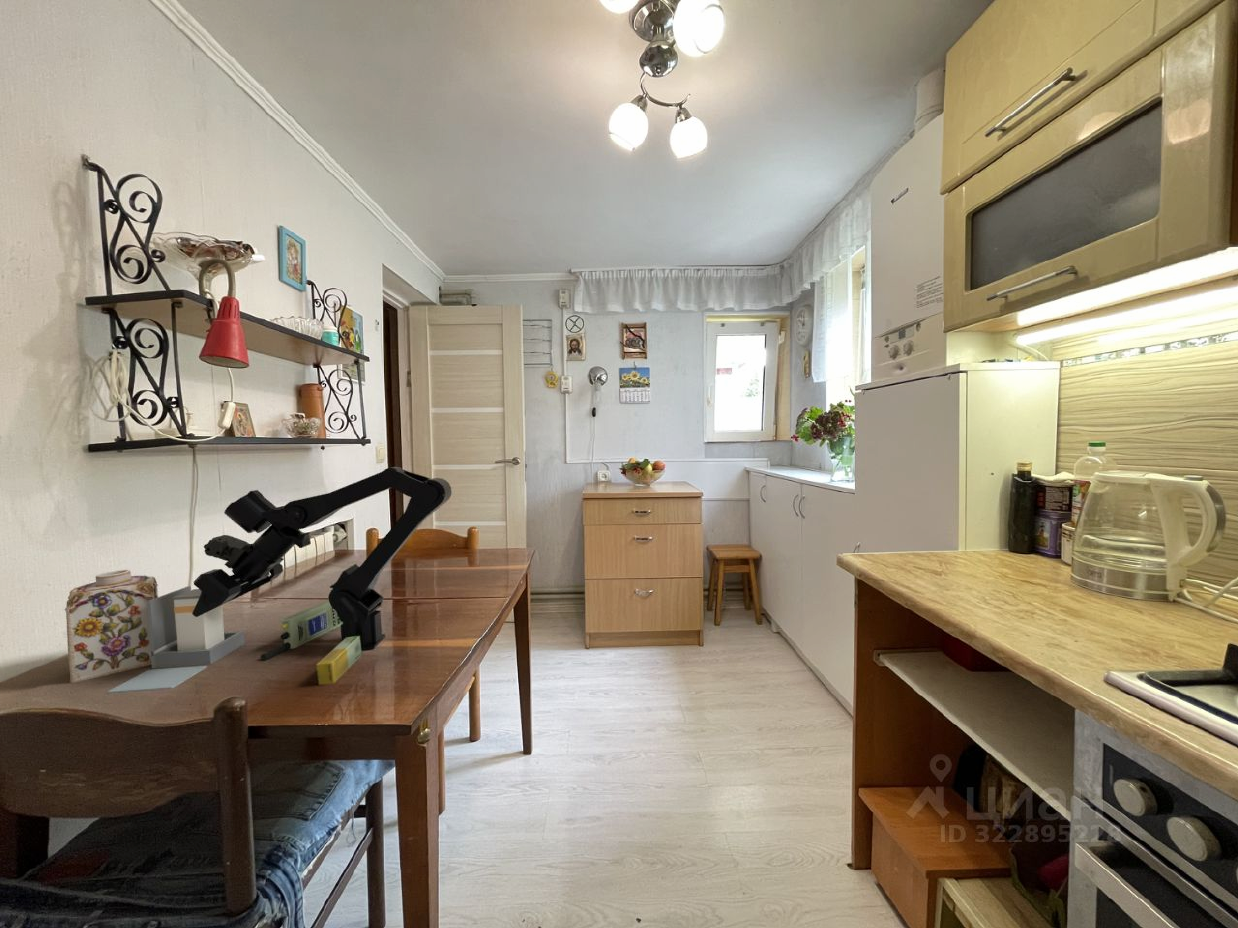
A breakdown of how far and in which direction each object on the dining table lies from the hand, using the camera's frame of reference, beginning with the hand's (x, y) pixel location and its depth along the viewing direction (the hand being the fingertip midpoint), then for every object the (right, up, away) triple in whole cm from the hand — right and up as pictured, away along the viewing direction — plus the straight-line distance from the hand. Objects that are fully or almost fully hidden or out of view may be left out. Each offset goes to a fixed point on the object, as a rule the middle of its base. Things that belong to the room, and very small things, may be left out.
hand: (211, 607), depth 96 cm
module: (-2, -9, 0) cm, 10 cm away
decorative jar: (-16, -11, -2) cm, 19 cm away
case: (-2, -10, 0) cm, 10 cm away
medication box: (+29, -10, -7) cm, 32 cm away
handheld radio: (+15, -9, +9) cm, 20 cm away
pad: (-1, -10, -10) cm, 14 cm away
